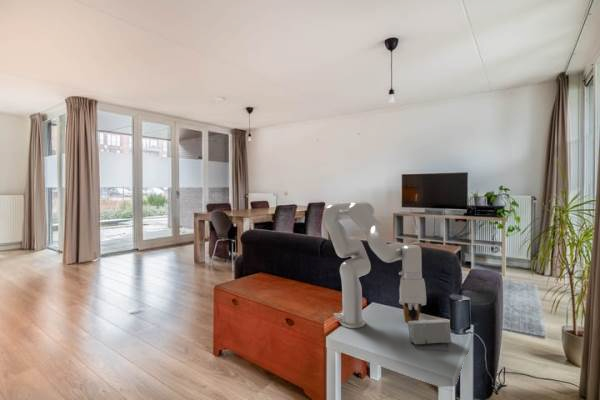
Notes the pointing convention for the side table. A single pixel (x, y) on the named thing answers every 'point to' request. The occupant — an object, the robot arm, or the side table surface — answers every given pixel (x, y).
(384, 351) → the side table surface
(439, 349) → the mat
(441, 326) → the skincare box
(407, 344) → the side table surface
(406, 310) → the disposable coffee cup
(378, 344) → the side table surface
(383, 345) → the side table surface
